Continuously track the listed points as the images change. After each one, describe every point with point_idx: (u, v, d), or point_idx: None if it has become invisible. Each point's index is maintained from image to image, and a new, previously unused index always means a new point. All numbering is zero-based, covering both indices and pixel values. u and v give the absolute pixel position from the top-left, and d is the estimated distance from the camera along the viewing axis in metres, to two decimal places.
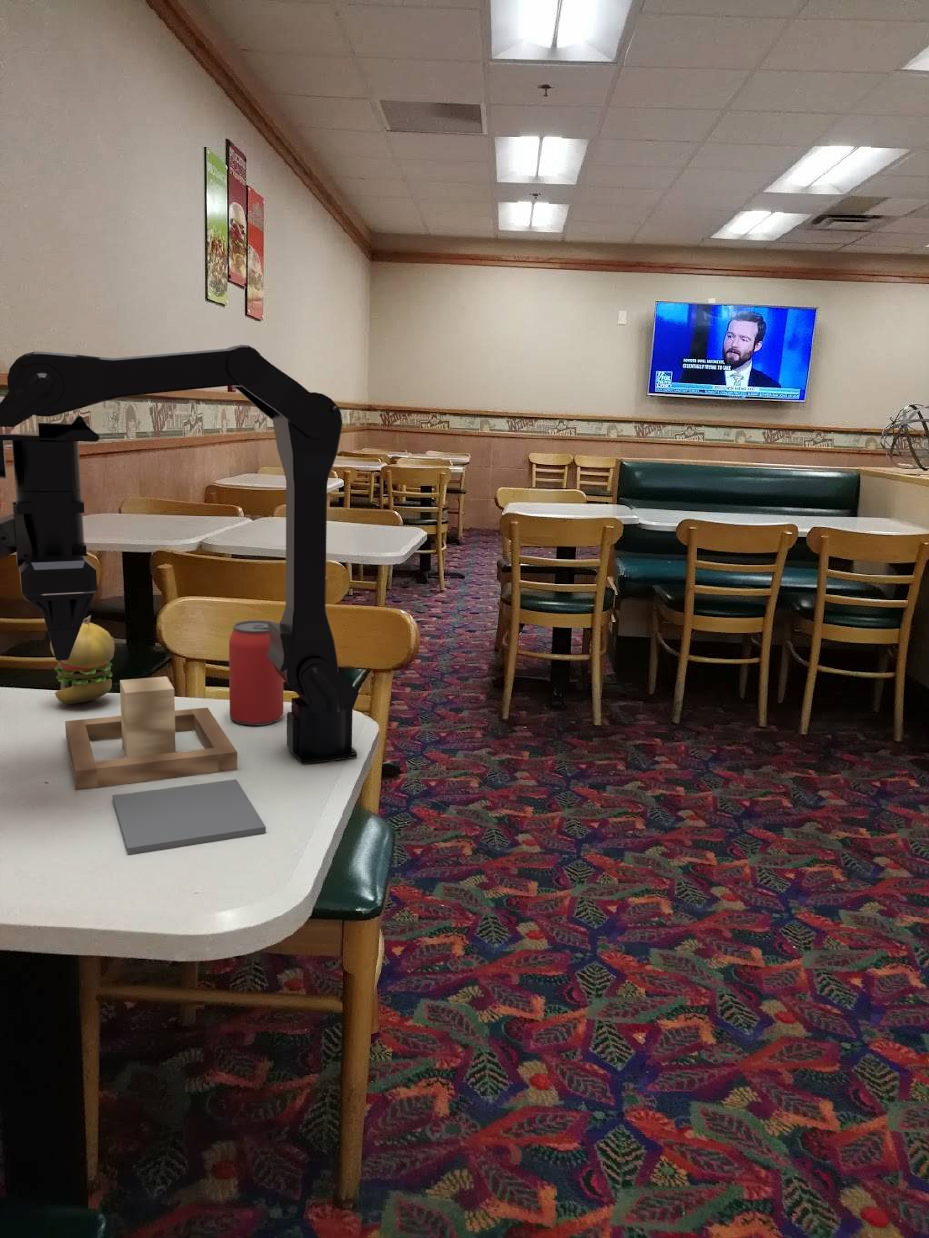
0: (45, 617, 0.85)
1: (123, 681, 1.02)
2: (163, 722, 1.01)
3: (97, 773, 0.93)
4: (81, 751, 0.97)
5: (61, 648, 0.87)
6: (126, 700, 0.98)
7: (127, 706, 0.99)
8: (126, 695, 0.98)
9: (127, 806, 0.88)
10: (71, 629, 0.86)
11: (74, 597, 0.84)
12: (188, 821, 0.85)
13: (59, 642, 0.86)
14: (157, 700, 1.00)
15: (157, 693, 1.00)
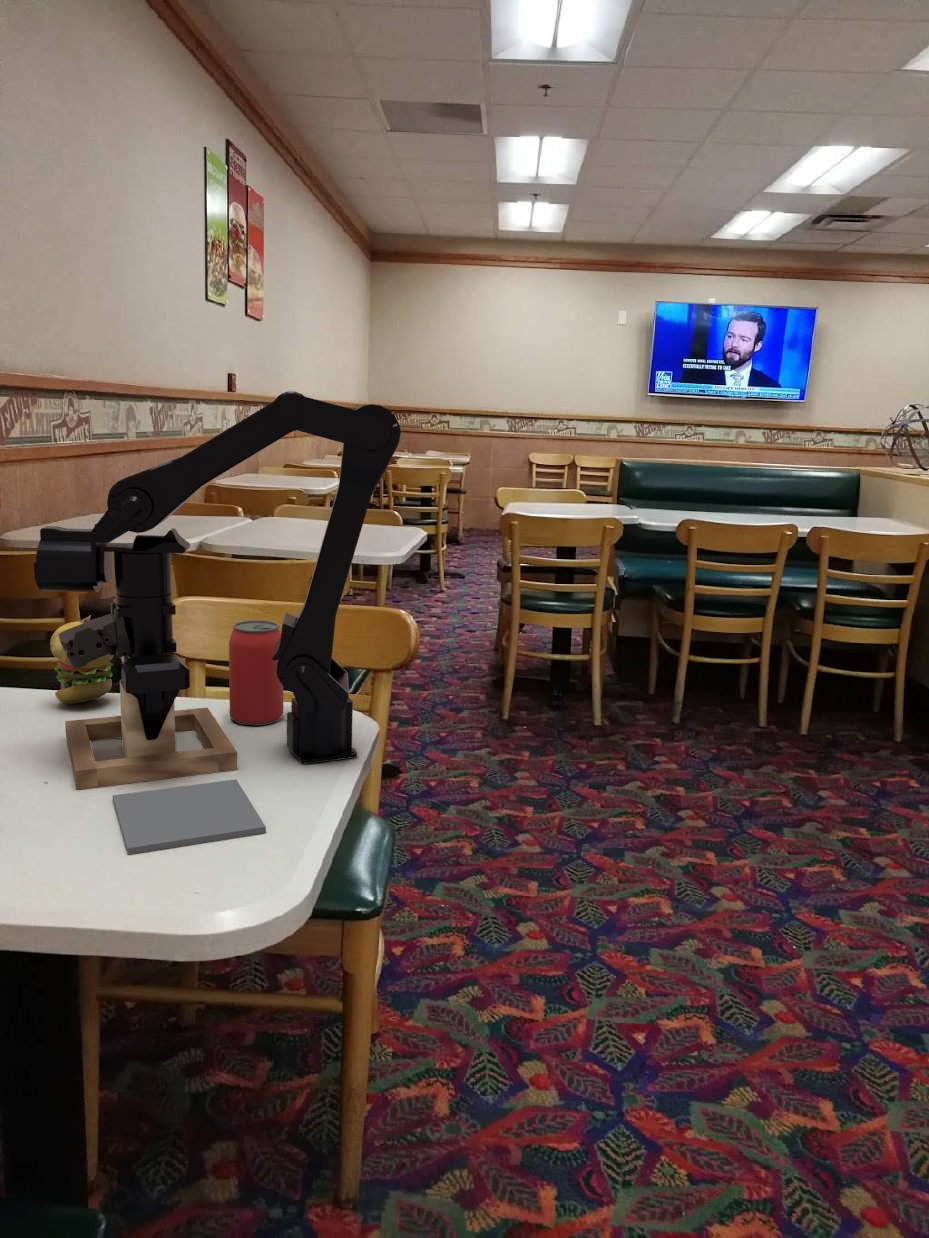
0: (140, 704, 0.97)
1: None
2: None
3: (97, 773, 0.93)
4: (81, 751, 0.97)
5: (151, 729, 0.99)
6: (126, 700, 0.98)
7: (127, 706, 0.98)
8: (126, 695, 0.98)
9: (127, 806, 0.88)
10: (161, 713, 0.99)
11: None
12: (188, 821, 0.85)
13: (150, 724, 0.99)
14: None
15: None
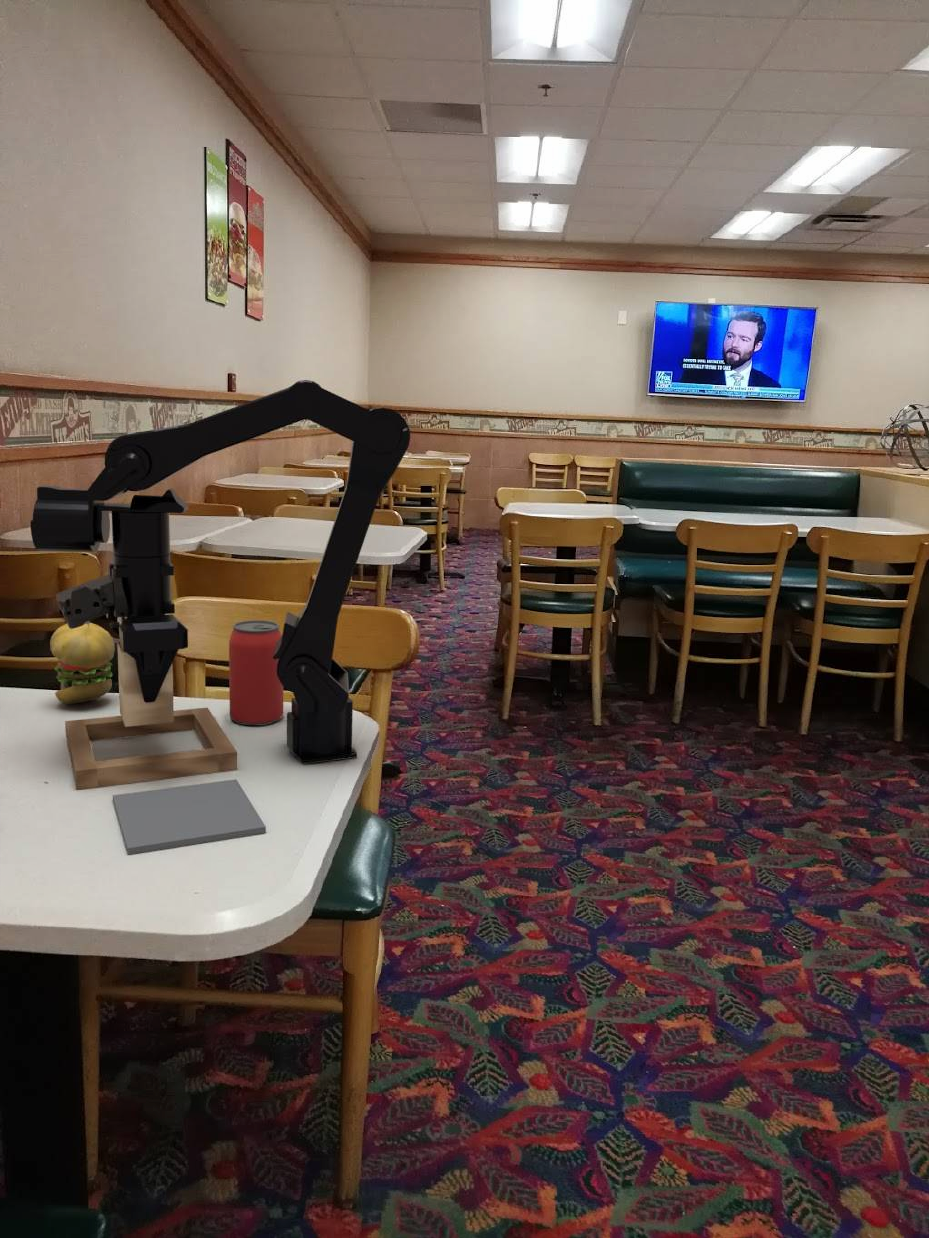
0: (138, 665, 0.96)
1: None
2: None
3: (97, 773, 0.93)
4: (81, 751, 0.97)
5: (149, 692, 0.99)
6: (123, 661, 0.97)
7: (124, 668, 0.98)
8: (123, 656, 0.97)
9: (127, 806, 0.88)
10: (159, 675, 0.98)
11: None
12: (188, 821, 0.85)
13: (148, 686, 0.98)
14: None
15: None
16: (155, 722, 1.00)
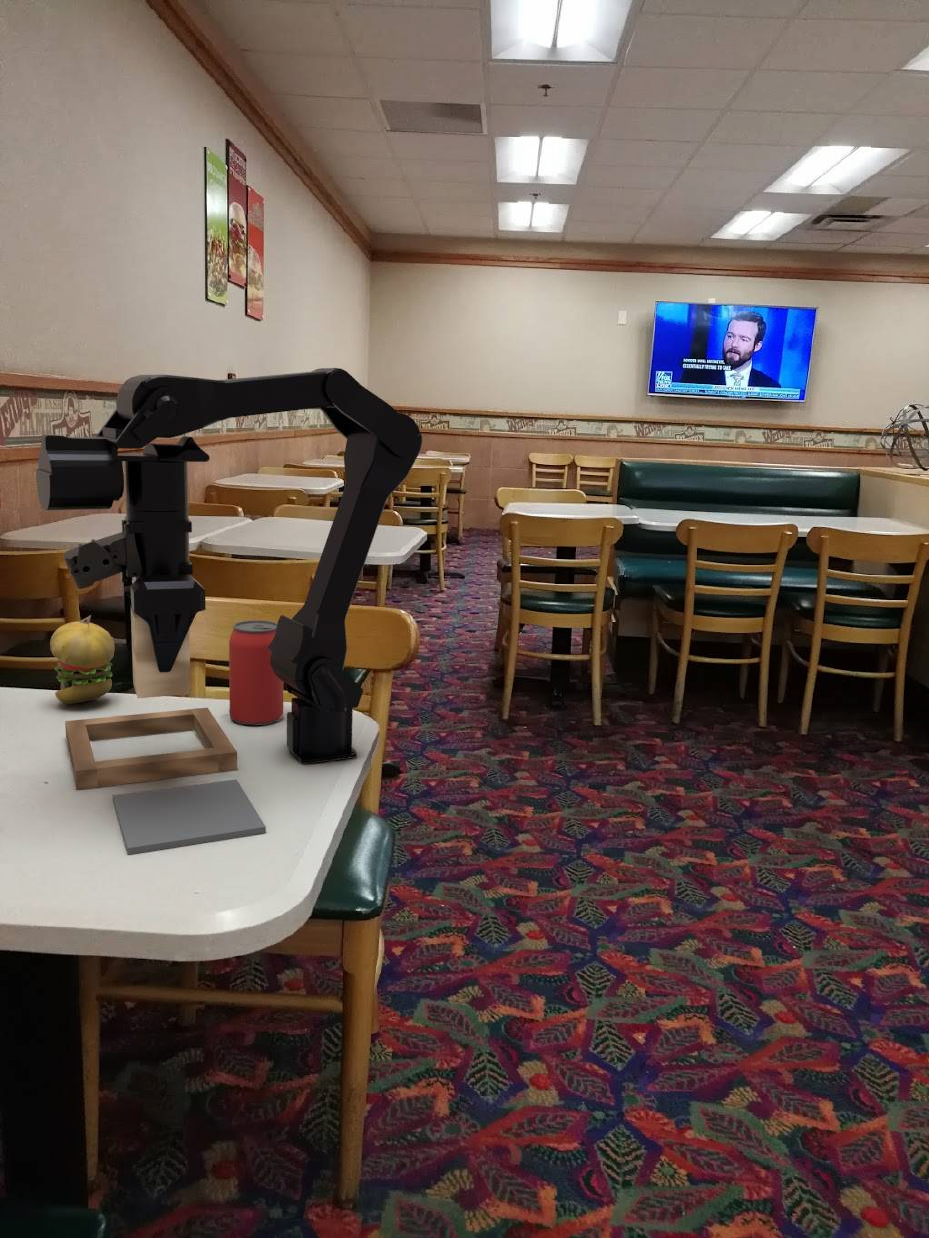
0: (151, 630, 0.88)
1: None
2: None
3: (97, 773, 0.93)
4: (81, 751, 0.97)
5: (164, 660, 0.90)
6: (136, 626, 0.89)
7: (137, 633, 0.89)
8: (136, 621, 0.89)
9: (127, 806, 0.88)
10: (175, 642, 0.89)
11: (180, 612, 0.86)
12: (188, 821, 0.85)
13: (163, 654, 0.89)
14: None
15: None
16: (170, 694, 0.91)
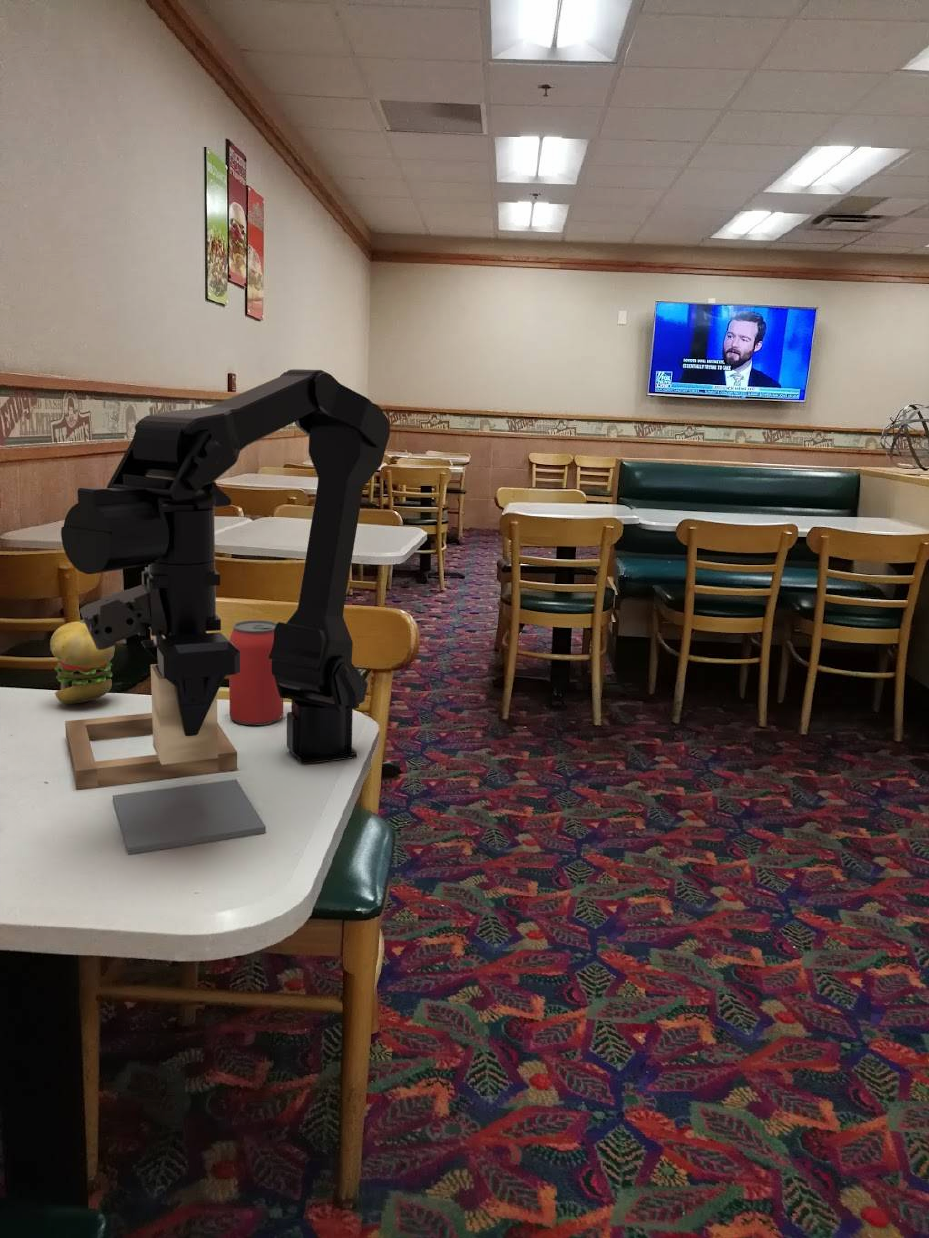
0: (178, 693, 0.81)
1: None
2: None
3: (97, 773, 0.93)
4: (81, 751, 0.97)
5: (191, 724, 0.83)
6: (160, 688, 0.82)
7: (161, 695, 0.82)
8: (160, 682, 0.82)
9: (127, 806, 0.88)
10: (203, 704, 0.82)
11: None
12: (188, 821, 0.85)
13: (190, 718, 0.83)
14: None
15: None
16: (196, 759, 0.85)
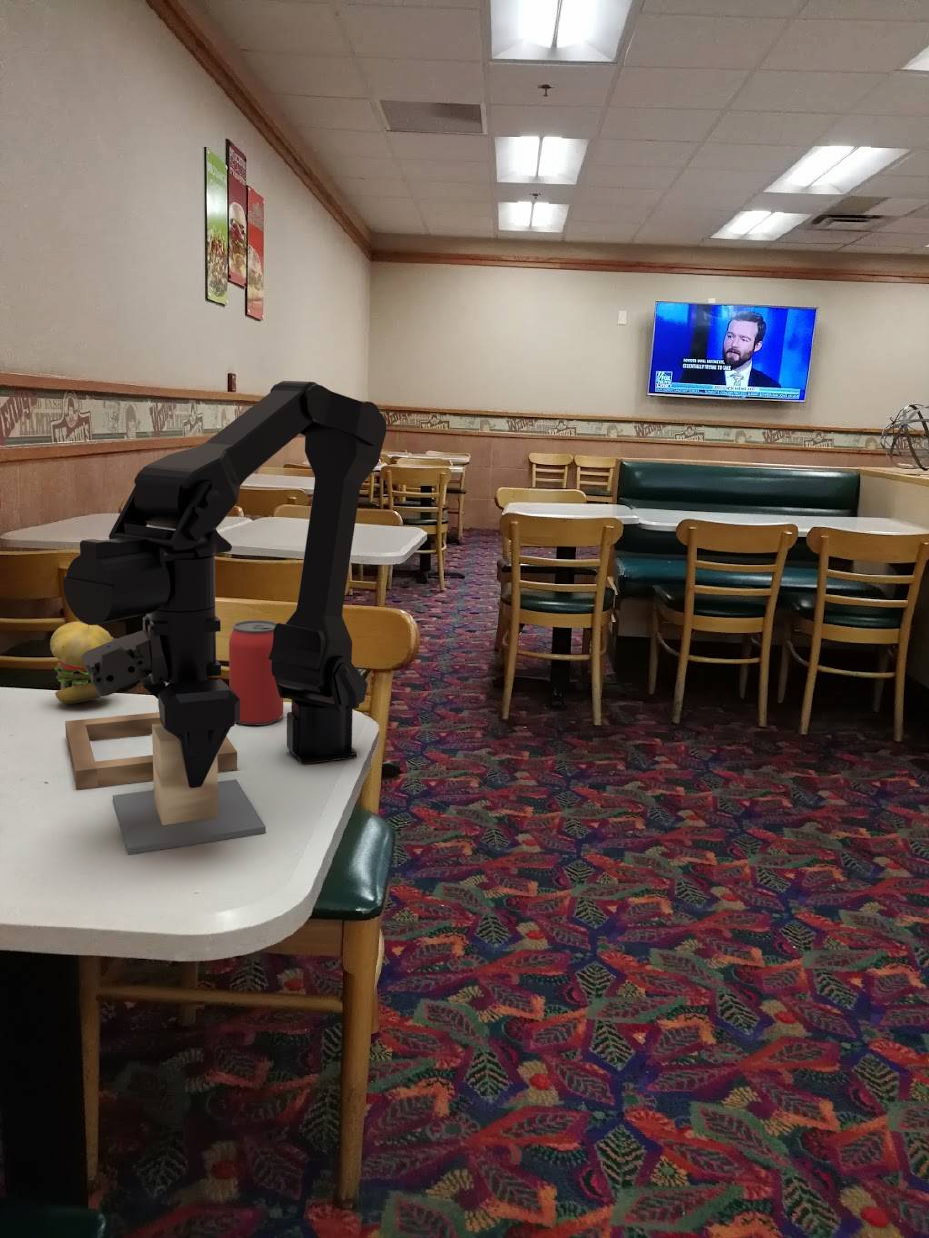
0: (183, 746, 0.80)
1: (156, 726, 0.87)
2: None
3: (97, 773, 0.93)
4: (81, 751, 0.97)
5: (196, 775, 0.82)
6: (161, 750, 0.83)
7: (162, 757, 0.83)
8: (161, 744, 0.83)
9: (127, 806, 0.88)
10: (207, 756, 0.82)
11: (215, 727, 0.79)
12: (188, 821, 0.85)
13: (194, 770, 0.82)
14: None
15: None
16: (197, 818, 0.86)
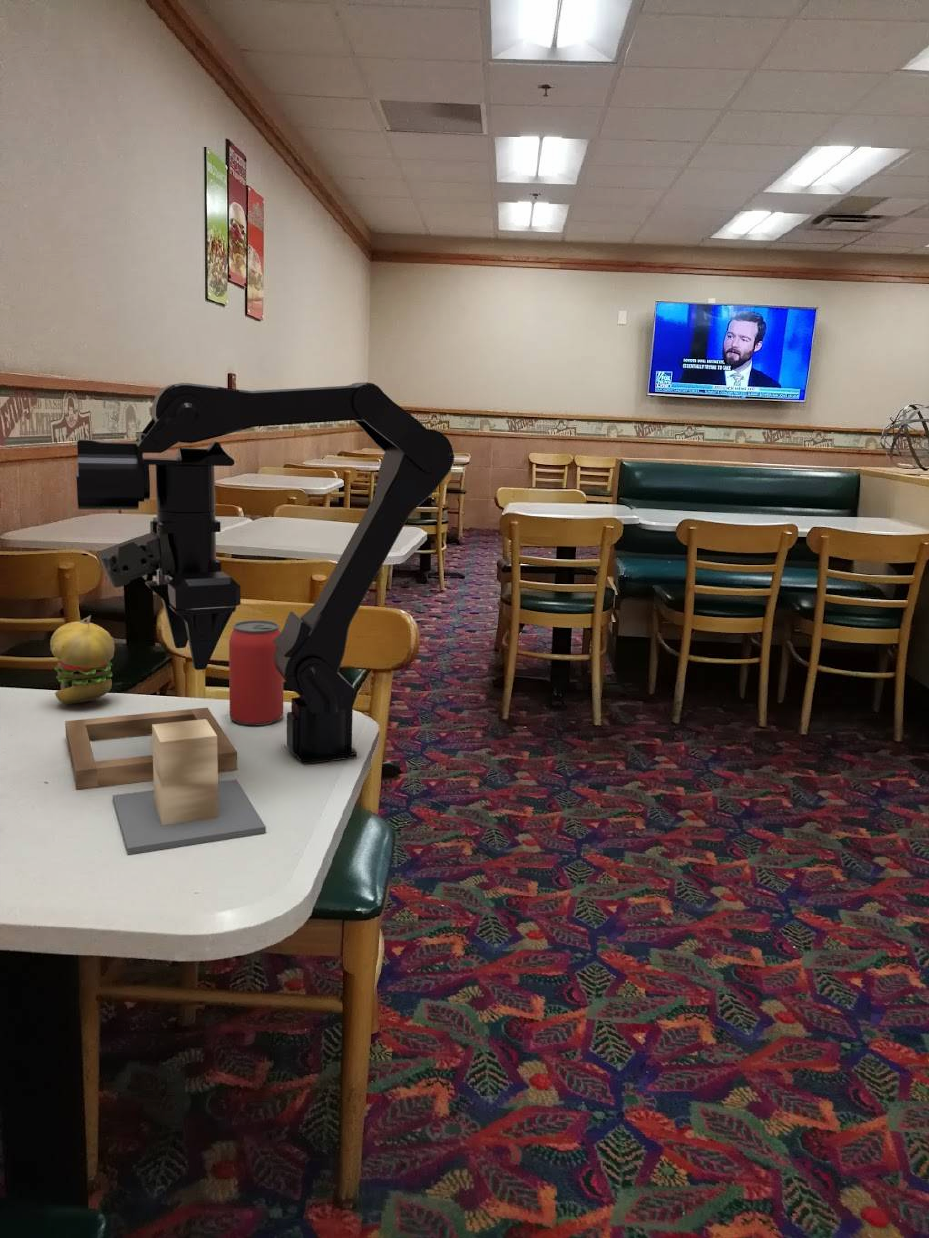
0: (190, 629, 0.91)
1: (156, 726, 0.87)
2: (204, 775, 0.85)
3: (97, 773, 0.93)
4: (81, 751, 0.97)
5: (200, 658, 0.93)
6: (161, 750, 0.83)
7: (162, 757, 0.83)
8: (161, 744, 0.83)
9: (127, 806, 0.88)
10: (211, 640, 0.93)
11: (219, 611, 0.90)
12: (188, 821, 0.85)
13: (199, 652, 0.93)
14: (197, 749, 0.84)
15: (197, 741, 0.84)
16: (197, 818, 0.86)
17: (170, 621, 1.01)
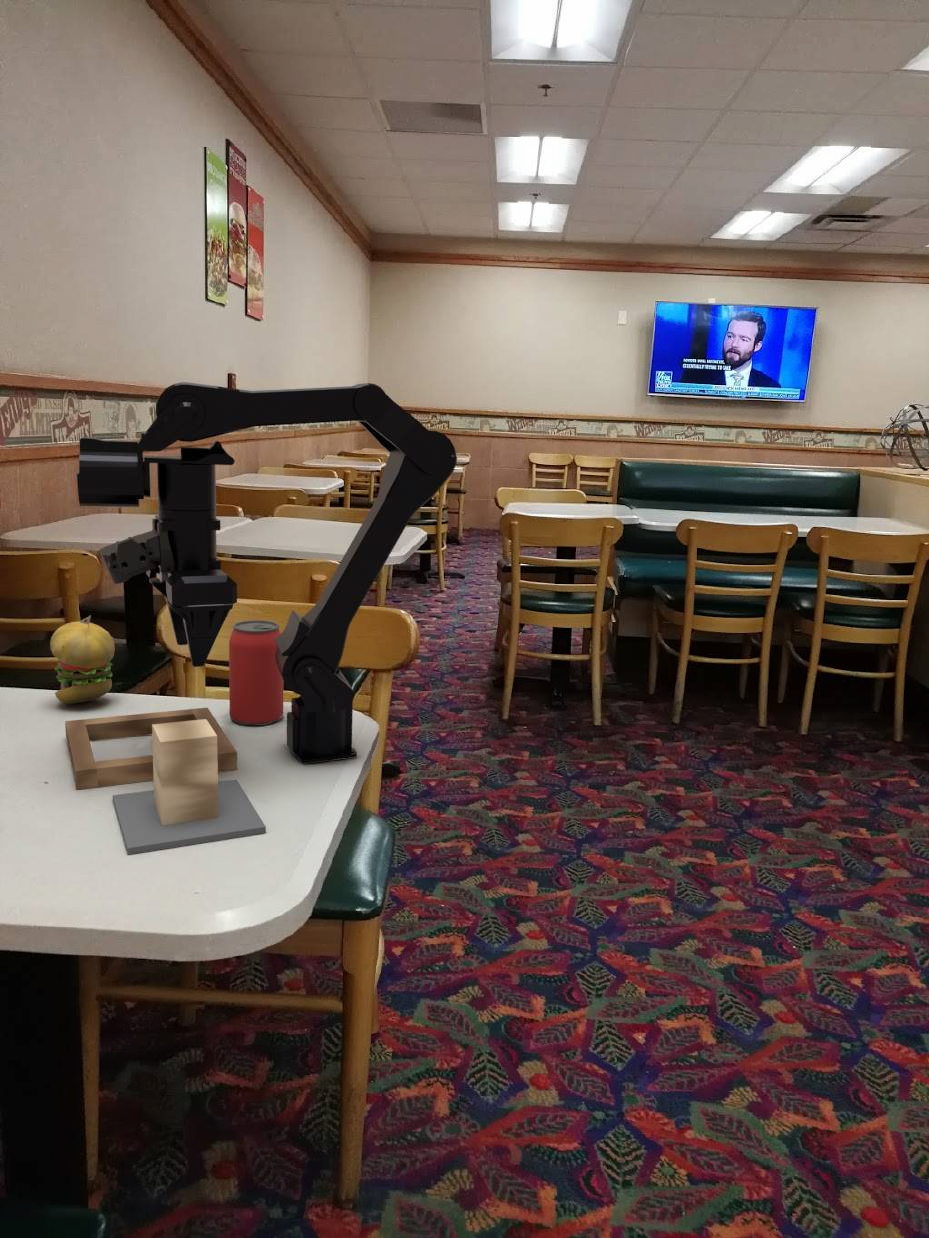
0: (187, 626, 0.92)
1: (156, 726, 0.87)
2: (204, 775, 0.85)
3: (97, 773, 0.93)
4: (81, 751, 0.97)
5: (198, 655, 0.94)
6: (161, 750, 0.83)
7: (162, 757, 0.83)
8: (161, 744, 0.83)
9: (127, 806, 0.88)
10: (208, 638, 0.93)
11: (216, 608, 0.91)
12: (188, 821, 0.85)
13: (197, 649, 0.94)
14: (197, 749, 0.84)
15: (197, 741, 0.84)
16: (197, 818, 0.86)
17: (172, 618, 1.02)
